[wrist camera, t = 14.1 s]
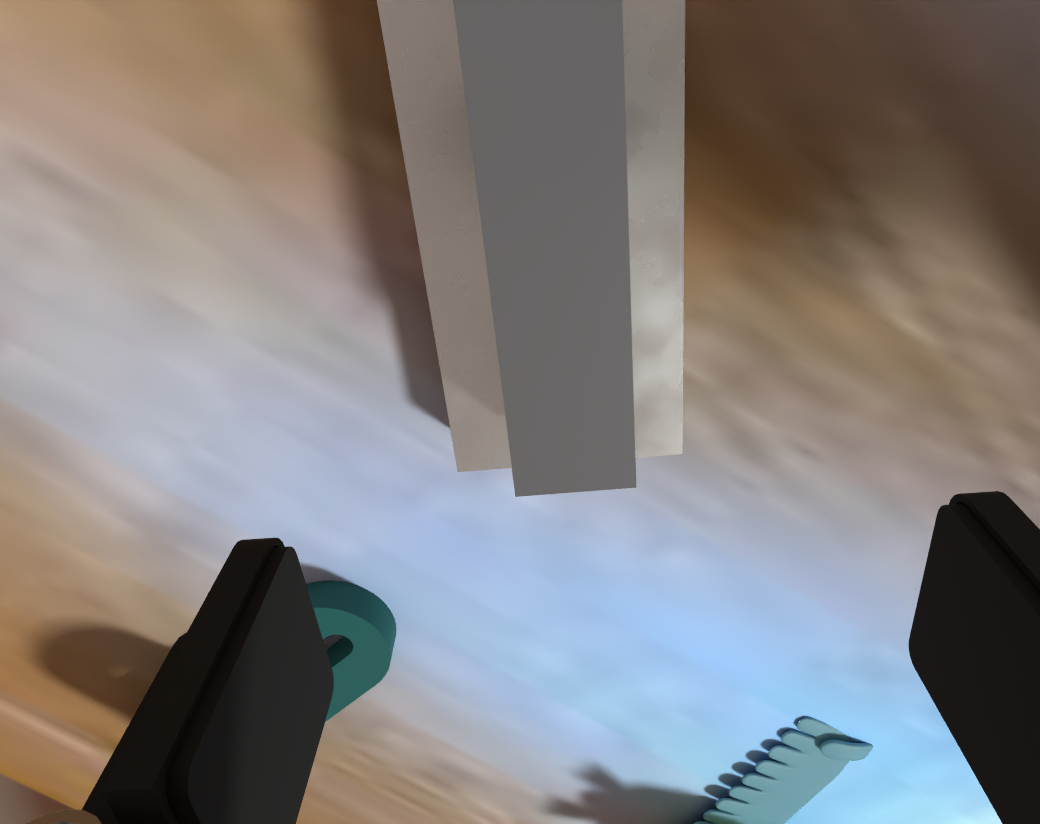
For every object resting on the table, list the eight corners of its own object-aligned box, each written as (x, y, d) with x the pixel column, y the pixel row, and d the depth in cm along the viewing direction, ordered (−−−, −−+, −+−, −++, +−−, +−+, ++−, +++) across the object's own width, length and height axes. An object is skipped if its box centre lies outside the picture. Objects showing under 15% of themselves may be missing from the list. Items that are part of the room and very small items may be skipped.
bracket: (236, 763, 49) (188, 889, 42) (146, 712, 46) (80, 838, 39) (421, 624, 42) (400, 746, 36) (328, 558, 40) (286, 675, 33)
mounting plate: (669, -153, 25) (686, -170, 22) (671, 419, 35) (682, 453, 33) (372, -115, 25) (354, -128, 23) (462, 437, 36) (457, 472, 33)
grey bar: (597, -74, 25) (619, -96, 19) (616, 397, 34) (636, 487, 28) (464, -58, 25) (443, -74, 19) (517, 406, 34) (515, 496, 28)
